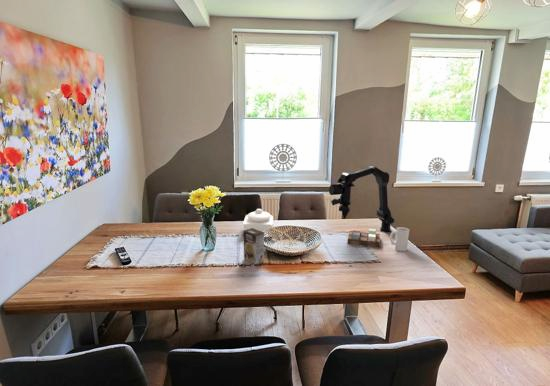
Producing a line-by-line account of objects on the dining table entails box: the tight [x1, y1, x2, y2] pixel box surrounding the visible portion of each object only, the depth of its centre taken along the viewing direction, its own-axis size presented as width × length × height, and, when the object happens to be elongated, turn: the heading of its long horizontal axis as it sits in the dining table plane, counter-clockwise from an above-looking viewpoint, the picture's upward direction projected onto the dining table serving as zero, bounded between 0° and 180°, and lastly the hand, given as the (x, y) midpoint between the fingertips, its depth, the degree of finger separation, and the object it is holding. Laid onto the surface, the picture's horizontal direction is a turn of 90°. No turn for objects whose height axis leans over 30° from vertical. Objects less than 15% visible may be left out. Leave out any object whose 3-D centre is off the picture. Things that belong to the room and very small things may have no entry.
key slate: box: [352, 232, 360, 240], centre depth 195 cm, size 4×4×4 cm
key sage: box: [368, 228, 377, 235], centre depth 198 cm, size 4×4×4 cm
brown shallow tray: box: [346, 230, 381, 248], centre depth 197 cm, size 14×18×3 cm
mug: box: [389, 226, 410, 252], centre depth 185 cm, size 10×7×12 cm, turn 89°
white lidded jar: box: [242, 208, 274, 232], centre depth 209 cm, size 18×18×16 cm
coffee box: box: [243, 228, 265, 265], centre depth 171 cm, size 9×6×16 cm
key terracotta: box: [352, 227, 361, 233], centre depth 201 cm, size 4×4×4 cm
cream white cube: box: [368, 234, 376, 242], centre depth 192 cm, size 4×4×4 cm
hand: (344, 218), depth 202 cm, fingers closed
